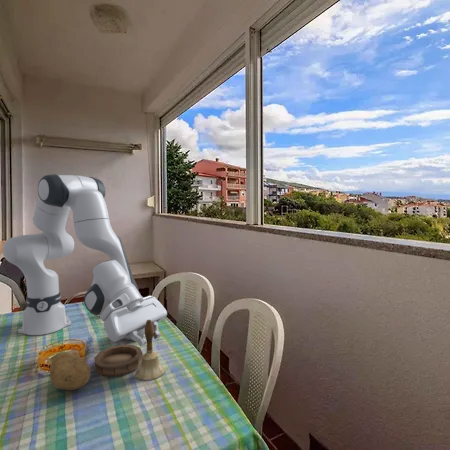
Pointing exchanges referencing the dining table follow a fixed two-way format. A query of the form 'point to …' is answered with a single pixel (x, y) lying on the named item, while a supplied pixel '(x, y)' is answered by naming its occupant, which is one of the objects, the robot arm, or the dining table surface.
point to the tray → (118, 360)
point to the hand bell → (149, 358)
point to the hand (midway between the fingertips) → (151, 340)
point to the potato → (69, 371)
